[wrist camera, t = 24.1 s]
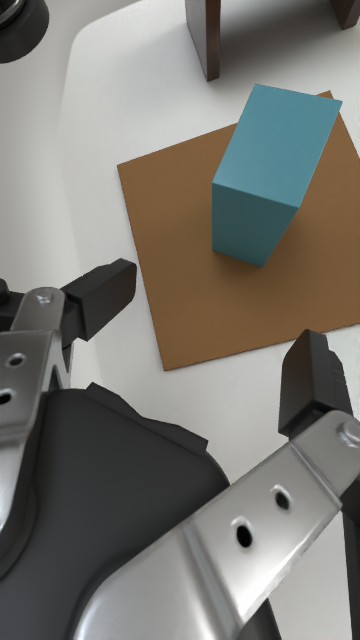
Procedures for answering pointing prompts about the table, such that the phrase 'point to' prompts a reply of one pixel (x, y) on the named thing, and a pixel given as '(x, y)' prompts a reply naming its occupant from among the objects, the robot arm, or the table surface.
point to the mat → (236, 275)
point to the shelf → (205, 28)
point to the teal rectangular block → (268, 170)
